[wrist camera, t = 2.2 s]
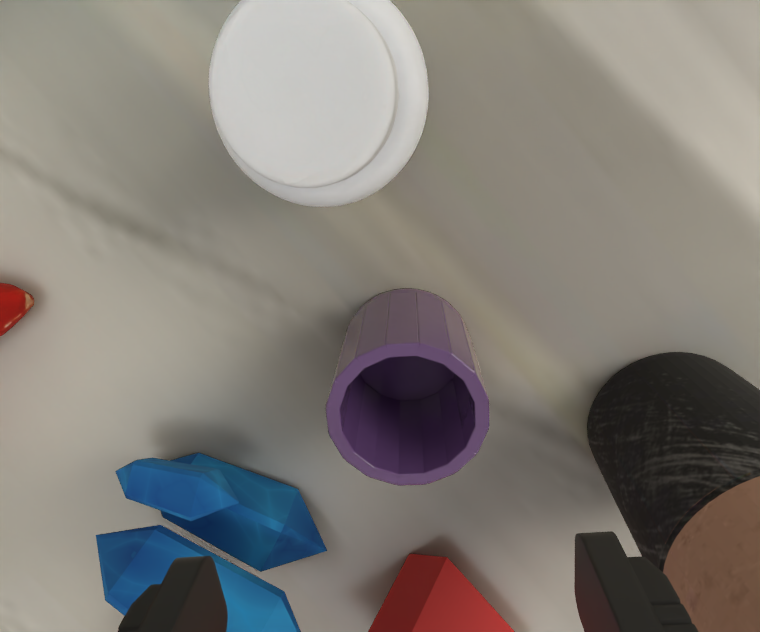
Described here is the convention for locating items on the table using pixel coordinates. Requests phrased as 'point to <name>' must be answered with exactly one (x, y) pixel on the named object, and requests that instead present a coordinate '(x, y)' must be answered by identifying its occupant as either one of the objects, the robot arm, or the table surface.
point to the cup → (407, 390)
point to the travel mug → (688, 479)
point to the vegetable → (13, 305)
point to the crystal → (211, 535)
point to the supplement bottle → (318, 96)
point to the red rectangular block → (435, 601)
